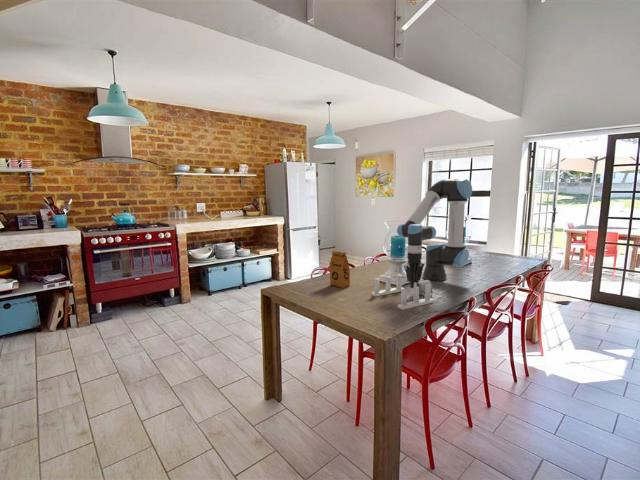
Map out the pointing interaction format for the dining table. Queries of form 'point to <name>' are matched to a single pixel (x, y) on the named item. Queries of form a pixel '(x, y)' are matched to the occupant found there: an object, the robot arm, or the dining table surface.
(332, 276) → the coffee package
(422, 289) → the ceramic mug
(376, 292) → the rack
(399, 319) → the dining table surface
